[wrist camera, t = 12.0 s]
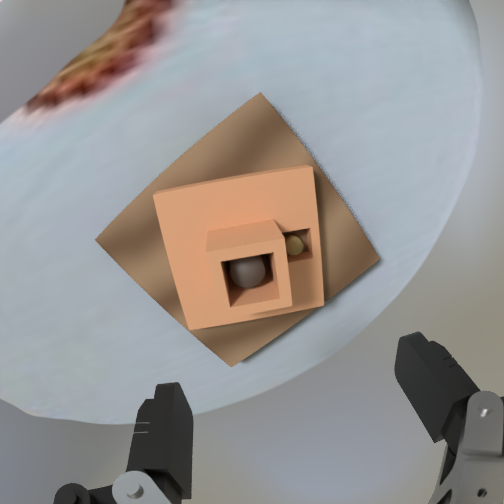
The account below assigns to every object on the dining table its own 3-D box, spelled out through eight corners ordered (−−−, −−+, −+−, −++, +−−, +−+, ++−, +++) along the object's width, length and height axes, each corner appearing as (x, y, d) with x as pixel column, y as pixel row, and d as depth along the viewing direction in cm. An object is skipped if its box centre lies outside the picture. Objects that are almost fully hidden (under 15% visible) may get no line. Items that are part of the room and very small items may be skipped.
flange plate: (190, 320, 28) (185, 363, 23) (156, 191, 24) (138, 209, 18) (319, 297, 29) (340, 334, 23) (307, 164, 24) (332, 175, 19)
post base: (102, 232, 26) (74, 260, 20) (257, 94, 24) (269, 82, 18) (230, 355, 33) (233, 399, 27) (371, 251, 30) (403, 279, 24)
